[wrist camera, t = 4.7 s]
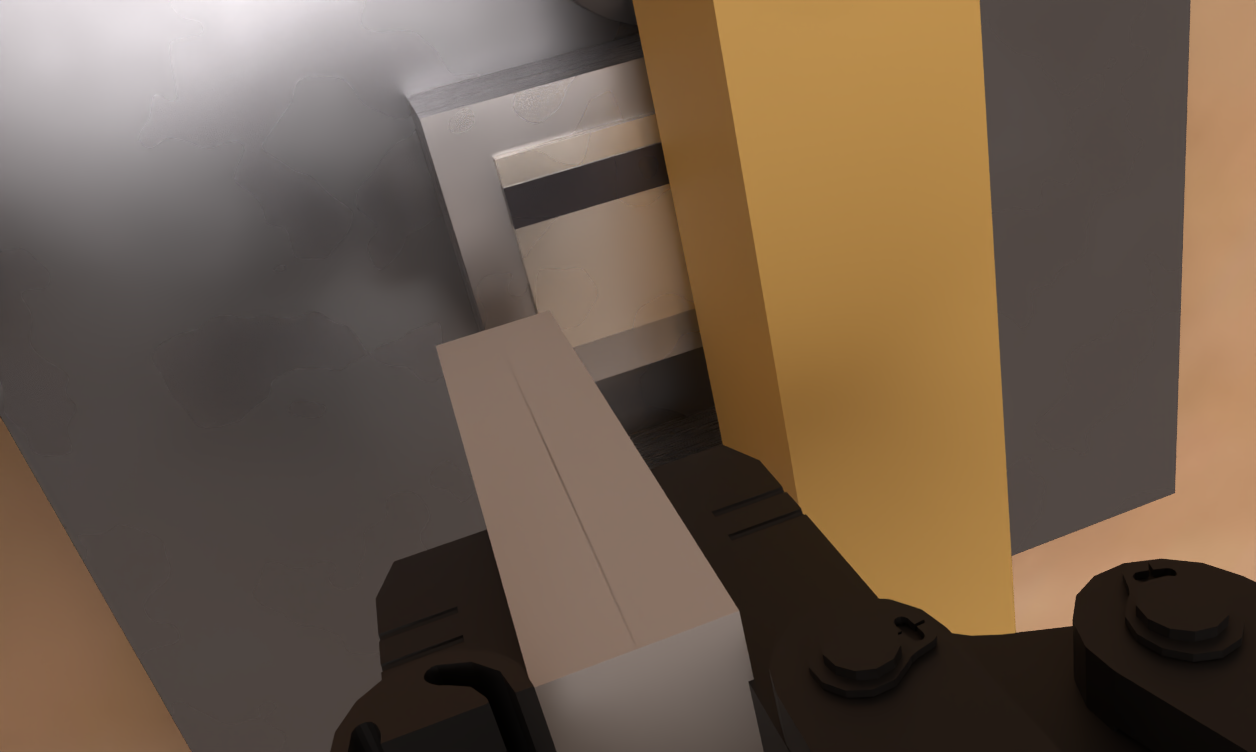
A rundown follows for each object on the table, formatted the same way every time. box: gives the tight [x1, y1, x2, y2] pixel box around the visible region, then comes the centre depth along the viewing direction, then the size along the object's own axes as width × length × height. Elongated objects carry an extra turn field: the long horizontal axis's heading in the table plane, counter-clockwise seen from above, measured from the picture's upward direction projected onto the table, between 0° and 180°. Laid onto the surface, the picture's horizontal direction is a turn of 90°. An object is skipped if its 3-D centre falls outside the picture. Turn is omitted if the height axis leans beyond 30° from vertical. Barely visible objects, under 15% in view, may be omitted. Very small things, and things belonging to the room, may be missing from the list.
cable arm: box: [632, 0, 1016, 636], centre depth 15 cm, size 18×4×6 cm, turn 13°
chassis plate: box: [0, 0, 1190, 752], centre depth 17 cm, size 22×18×4 cm
